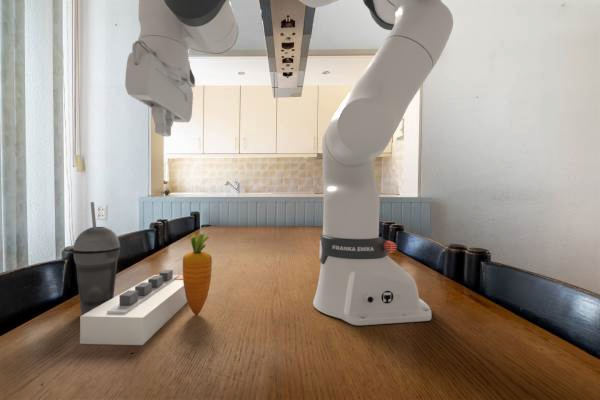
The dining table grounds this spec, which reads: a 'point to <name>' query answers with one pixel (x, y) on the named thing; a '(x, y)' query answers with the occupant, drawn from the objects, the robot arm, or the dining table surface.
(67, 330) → the dining table surface
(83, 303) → the beverage cup
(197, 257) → the carrot
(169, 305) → the breaker panel
